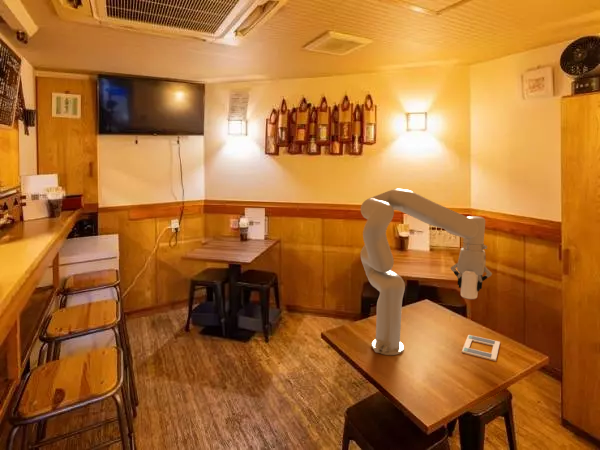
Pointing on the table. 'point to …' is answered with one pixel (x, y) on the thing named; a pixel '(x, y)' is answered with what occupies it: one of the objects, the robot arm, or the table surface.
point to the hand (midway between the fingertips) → (469, 288)
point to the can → (469, 285)
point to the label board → (481, 354)
